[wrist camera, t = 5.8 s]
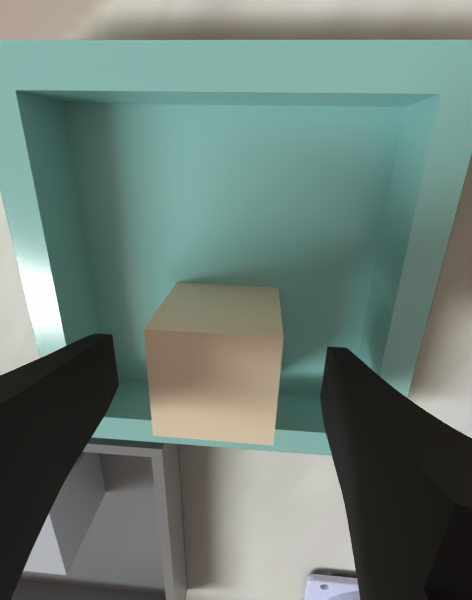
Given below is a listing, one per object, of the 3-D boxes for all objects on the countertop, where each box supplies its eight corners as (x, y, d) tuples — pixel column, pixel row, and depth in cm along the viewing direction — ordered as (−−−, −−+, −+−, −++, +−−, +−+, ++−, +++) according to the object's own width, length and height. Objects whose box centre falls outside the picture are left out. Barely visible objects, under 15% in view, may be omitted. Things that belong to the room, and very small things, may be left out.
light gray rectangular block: (95, 436, 17) (48, 512, 13) (105, 492, 19) (66, 575, 15) (18, 430, 17) (-48, 503, 14) (35, 486, 19) (-21, 566, 15)
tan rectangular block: (278, 287, 13) (283, 337, 10) (271, 374, 15) (273, 445, 11) (176, 282, 13) (143, 328, 10) (180, 367, 15) (153, 435, 11)
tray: (176, 409, 17) (161, 449, 14) (187, 590, 23) (178, 639, 20) (-145, 386, 18) (-206, 420, 16) (-56, 565, 24) (-90, 609, 21)
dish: (440, 70, 11) (502, 39, 8) (368, 407, 16) (390, 460, 13) (36, 68, 12) (-36, 39, 9) (92, 388, 17) (58, 434, 14)
